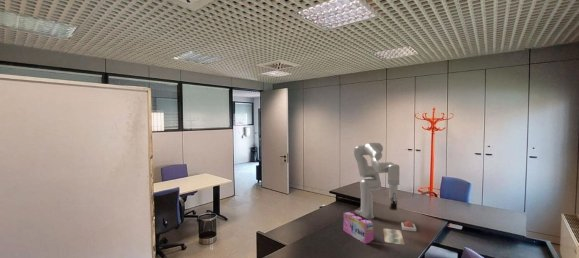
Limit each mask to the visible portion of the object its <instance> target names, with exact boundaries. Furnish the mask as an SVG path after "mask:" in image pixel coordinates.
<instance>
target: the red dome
mask: <svg viewBox="0 0 579 258" xmlns="http://www.w3.org/2000/svg"><path fill="white" fill-rule="evenodd" d="M404 223H405V226H404V227H412V224H413V223H412V222H411V220H406V221H405V222H404ZM412 228H413V227H412Z"/></svg>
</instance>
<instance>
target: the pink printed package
mask: <svg viewBox="0 0 579 258" xmlns="http://www.w3.org/2000/svg"><path fill="white" fill-rule="evenodd" d="M374 224H375V221H373V220H372V219H368V218H365V217H363V216H361V215H359V213H356V212H355V211H352V210H349V211H348V212H347V211H346V212H343V225H342V227H343V232H345V233H346V234H348V235H350V236H351V237H353V238H355V239H356V240H358V241H359V240H360V241H359V242H361V243H363V244H364V243H365V245H367V244H370V243H372V242H373V241H374V240H375V239H374V232H375V229H374V228H375V225H374Z"/></svg>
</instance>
